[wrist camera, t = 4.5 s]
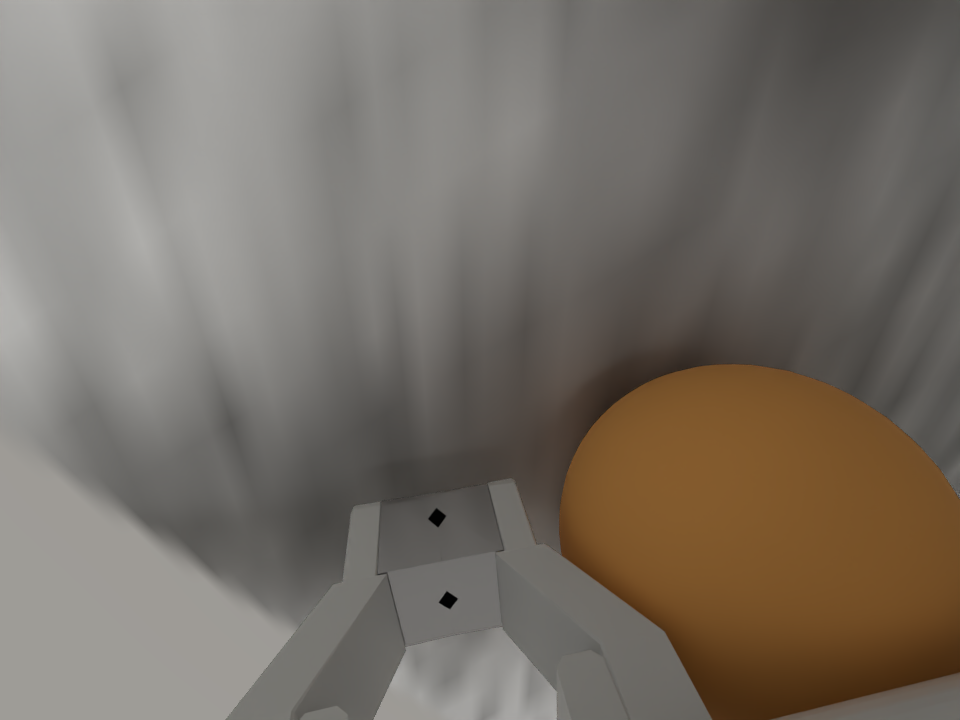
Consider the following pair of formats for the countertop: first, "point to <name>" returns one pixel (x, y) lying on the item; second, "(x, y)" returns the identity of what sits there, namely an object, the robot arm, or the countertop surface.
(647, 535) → the ball
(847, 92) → the countertop surface
